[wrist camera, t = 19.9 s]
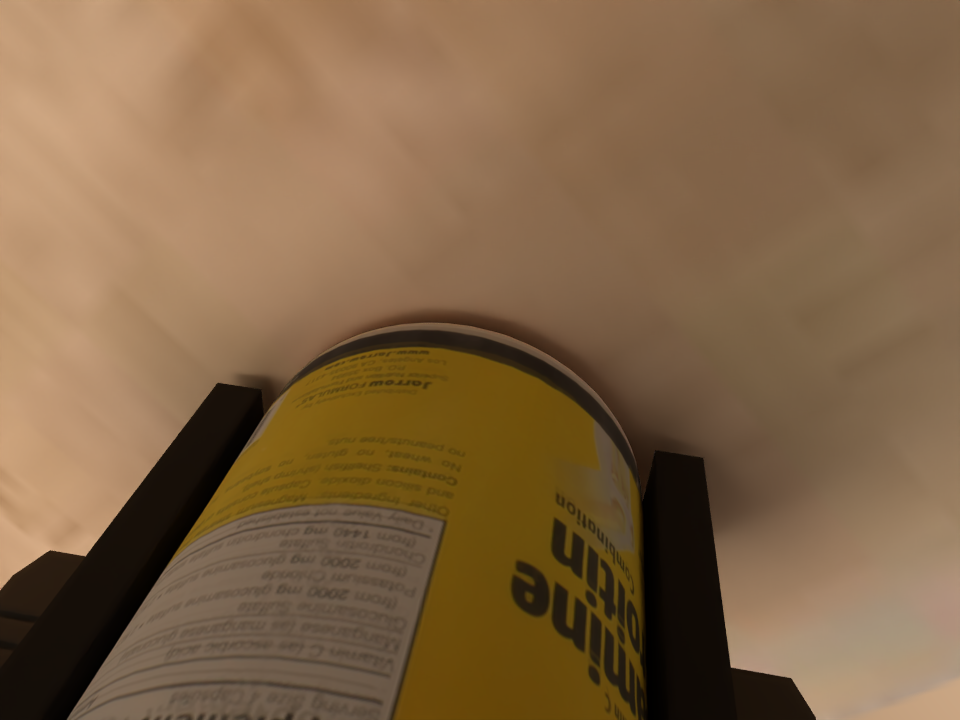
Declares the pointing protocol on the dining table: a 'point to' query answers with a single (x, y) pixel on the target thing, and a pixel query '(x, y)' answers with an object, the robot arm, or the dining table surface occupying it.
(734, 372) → the dining table surface
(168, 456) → the robot arm
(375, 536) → the pill bottle
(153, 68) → the dining table surface
